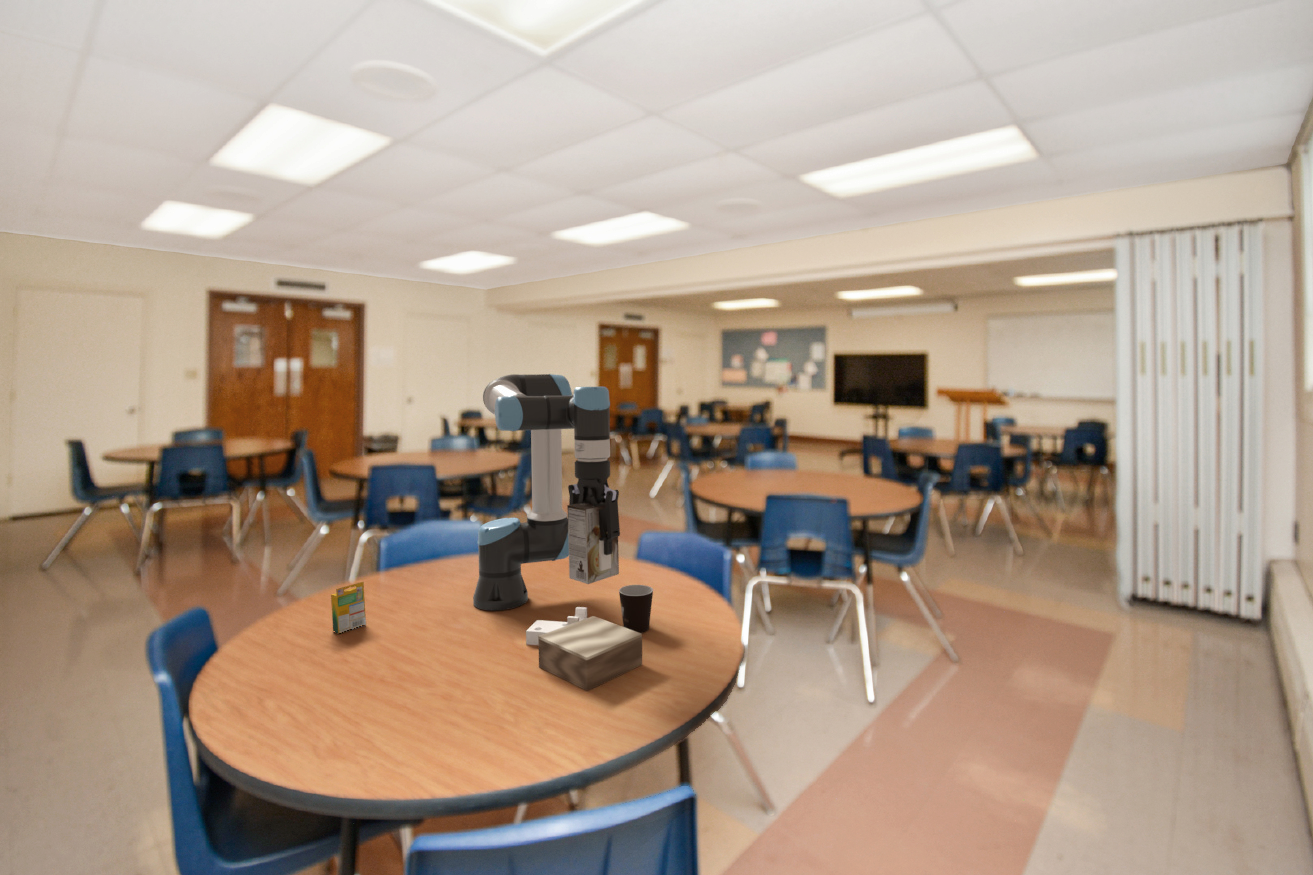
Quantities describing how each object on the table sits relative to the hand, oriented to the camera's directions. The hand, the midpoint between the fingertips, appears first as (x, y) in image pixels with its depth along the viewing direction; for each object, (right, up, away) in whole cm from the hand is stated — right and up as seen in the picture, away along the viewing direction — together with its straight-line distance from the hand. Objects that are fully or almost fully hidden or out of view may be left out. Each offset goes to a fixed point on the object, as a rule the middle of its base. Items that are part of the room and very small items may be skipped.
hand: (593, 565), depth 133 cm
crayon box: (-65, -21, +25) cm, 73 cm away
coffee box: (0, -3, 0) cm, 3 cm away
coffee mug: (+9, -21, +25) cm, 34 cm away
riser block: (-1, -23, +3) cm, 23 cm away
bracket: (-11, -22, +17) cm, 30 cm away
